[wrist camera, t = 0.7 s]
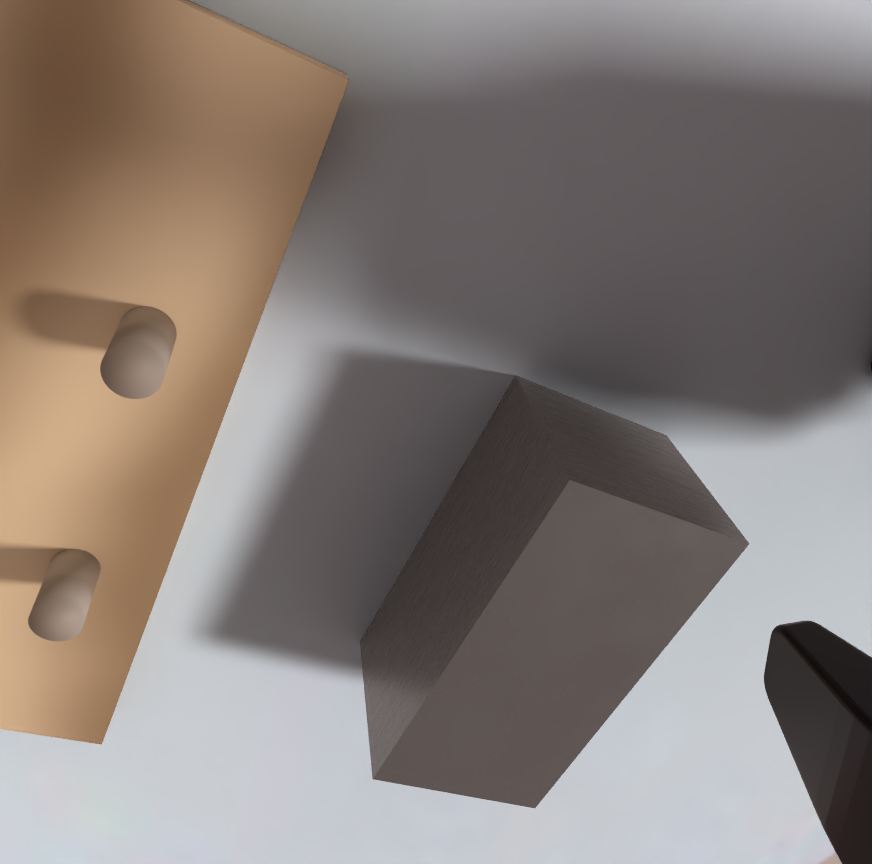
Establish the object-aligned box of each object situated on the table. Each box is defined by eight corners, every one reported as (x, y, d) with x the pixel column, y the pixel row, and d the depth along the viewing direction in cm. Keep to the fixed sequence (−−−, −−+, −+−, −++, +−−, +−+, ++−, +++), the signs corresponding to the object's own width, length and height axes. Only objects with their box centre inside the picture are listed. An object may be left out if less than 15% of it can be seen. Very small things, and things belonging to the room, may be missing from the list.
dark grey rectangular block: (664, 432, 23) (749, 543, 18) (496, 671, 27) (534, 808, 22) (513, 372, 21) (569, 479, 17) (359, 638, 25) (372, 778, 21)
